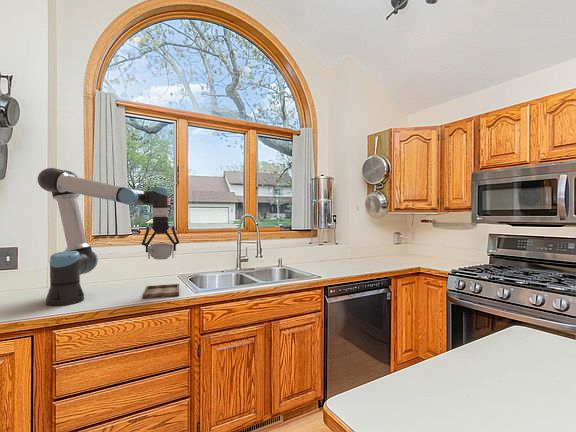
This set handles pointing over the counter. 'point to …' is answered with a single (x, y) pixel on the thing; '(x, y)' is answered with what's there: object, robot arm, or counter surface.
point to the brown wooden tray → (161, 291)
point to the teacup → (160, 250)
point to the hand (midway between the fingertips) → (161, 257)
